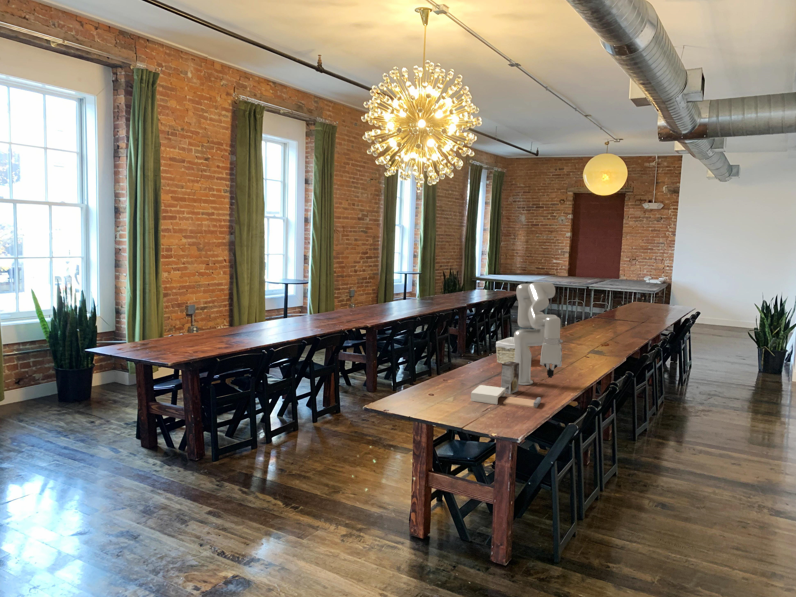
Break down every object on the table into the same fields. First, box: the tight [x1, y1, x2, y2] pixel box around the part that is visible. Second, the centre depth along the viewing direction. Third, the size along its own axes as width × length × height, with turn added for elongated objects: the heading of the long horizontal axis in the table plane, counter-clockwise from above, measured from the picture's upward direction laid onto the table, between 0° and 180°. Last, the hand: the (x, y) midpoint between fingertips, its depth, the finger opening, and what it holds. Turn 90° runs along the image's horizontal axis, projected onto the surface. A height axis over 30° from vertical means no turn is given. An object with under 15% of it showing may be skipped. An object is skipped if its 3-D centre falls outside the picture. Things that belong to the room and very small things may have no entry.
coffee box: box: [500, 361, 519, 395], centre depth 322 cm, size 9×6×16 cm
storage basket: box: [495, 336, 531, 364], centre depth 399 cm, size 24×16×15 cm
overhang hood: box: [470, 384, 506, 405], centre depth 309 cm, size 17×14×4 cm
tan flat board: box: [502, 396, 542, 409], centre depth 301 cm, size 11×17×3 cm, turn 66°
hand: (550, 377), depth 294 cm, fingers closed
